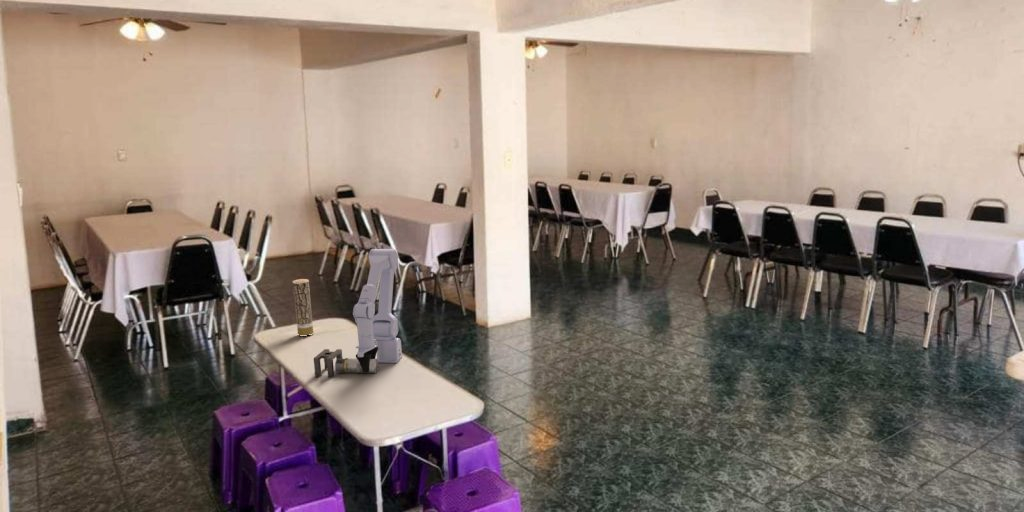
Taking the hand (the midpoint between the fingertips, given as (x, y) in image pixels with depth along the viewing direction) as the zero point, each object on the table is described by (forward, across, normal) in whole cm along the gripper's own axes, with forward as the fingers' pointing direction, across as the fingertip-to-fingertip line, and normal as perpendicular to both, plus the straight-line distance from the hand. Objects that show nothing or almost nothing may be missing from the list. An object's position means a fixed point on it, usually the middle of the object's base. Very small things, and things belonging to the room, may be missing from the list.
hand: (368, 369), depth 268 cm
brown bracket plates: (+1, 0, -16) cm, 16 cm away
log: (+2, -47, -46) cm, 66 cm away
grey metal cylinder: (+1, 0, -4) cm, 5 cm away
